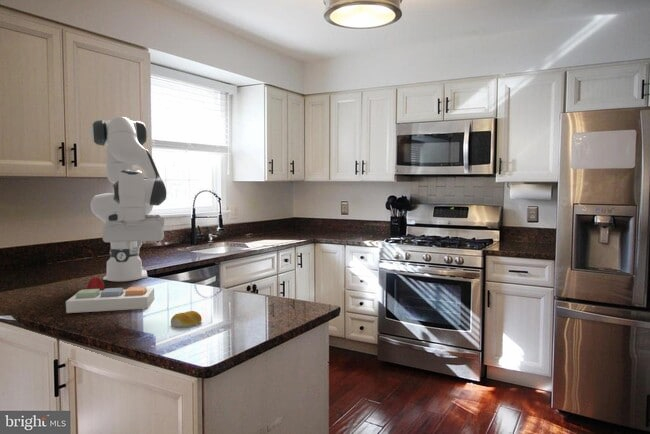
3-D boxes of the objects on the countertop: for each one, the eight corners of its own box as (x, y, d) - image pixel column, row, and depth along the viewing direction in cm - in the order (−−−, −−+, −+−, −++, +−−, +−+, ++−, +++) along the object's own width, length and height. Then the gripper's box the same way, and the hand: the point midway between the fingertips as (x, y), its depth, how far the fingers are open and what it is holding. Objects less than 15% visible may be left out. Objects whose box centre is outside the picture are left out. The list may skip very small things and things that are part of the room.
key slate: (105, 296, 168) (105, 288, 168) (123, 295, 169) (123, 287, 169) (101, 300, 162) (100, 292, 162) (119, 299, 164) (119, 291, 163)
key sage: (81, 297, 167) (81, 289, 166) (99, 296, 168) (99, 288, 168) (76, 302, 161) (75, 293, 161) (95, 301, 162) (94, 292, 162)
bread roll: (206, 322, 146) (206, 310, 145) (182, 330, 138) (182, 317, 138) (189, 318, 150) (189, 306, 150) (165, 325, 143) (165, 312, 143)
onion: (86, 297, 177) (85, 277, 177) (89, 294, 183) (88, 274, 182) (103, 296, 179) (102, 276, 178) (105, 293, 184) (105, 273, 184)
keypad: (79, 302, 170) (79, 291, 170) (154, 298, 175) (154, 288, 175) (66, 313, 157) (65, 301, 156) (147, 308, 162) (147, 297, 161)
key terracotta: (129, 295, 170) (128, 287, 170) (146, 294, 171) (146, 286, 171) (125, 299, 164) (125, 291, 164) (143, 298, 165) (143, 290, 165)
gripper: (165, 214, 170) (166, 251, 171) (105, 215, 166) (106, 253, 167) (162, 215, 164) (163, 254, 165) (100, 216, 160) (101, 256, 161)
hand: (134, 254), depth 166 cm, fingers closed
